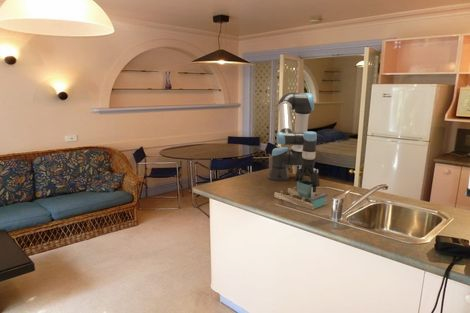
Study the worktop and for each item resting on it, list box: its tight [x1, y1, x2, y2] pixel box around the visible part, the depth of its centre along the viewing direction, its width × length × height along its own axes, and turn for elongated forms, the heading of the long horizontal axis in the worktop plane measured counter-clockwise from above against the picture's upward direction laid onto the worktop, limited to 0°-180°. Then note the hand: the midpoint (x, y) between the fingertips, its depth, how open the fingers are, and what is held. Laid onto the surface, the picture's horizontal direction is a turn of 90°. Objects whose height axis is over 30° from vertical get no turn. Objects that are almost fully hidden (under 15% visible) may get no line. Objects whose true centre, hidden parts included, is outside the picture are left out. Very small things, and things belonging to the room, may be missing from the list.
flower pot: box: [296, 179, 313, 198], centre depth 199 cm, size 9×9×9 cm
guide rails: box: [273, 186, 328, 210], centre depth 203 cm, size 15×28×5 cm, turn 43°
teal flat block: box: [309, 192, 329, 210], centre depth 193 cm, size 15×2×6 cm, turn 133°
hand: (305, 195), depth 199 cm, fingers closed on flower pot, 9 cm apart
